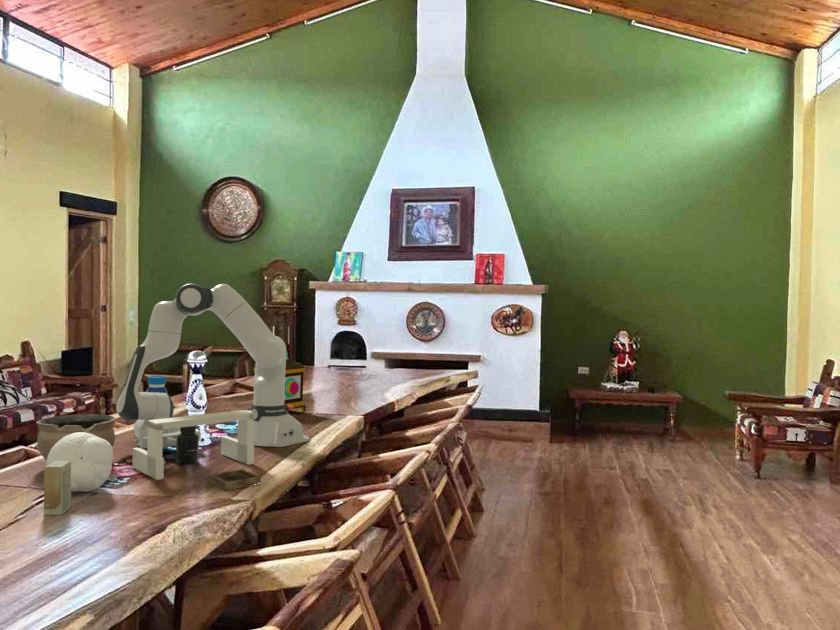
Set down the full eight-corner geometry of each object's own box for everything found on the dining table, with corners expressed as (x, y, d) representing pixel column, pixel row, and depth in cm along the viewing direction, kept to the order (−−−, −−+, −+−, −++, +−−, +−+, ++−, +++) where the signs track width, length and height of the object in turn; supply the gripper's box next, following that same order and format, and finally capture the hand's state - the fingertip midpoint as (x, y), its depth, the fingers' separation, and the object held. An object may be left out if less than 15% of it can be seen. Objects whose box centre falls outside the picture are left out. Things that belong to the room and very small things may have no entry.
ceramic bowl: (35, 478, 208) (35, 427, 207) (36, 461, 227) (36, 414, 227) (118, 471, 218) (118, 422, 218) (112, 455, 238) (112, 410, 237)
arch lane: (226, 453, 246) (227, 405, 245) (253, 463, 233) (254, 413, 232) (132, 467, 224) (133, 414, 223) (156, 479, 211) (157, 424, 210)
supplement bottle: (191, 465, 228) (192, 428, 227) (171, 464, 229) (172, 426, 229) (202, 460, 235) (202, 424, 234) (183, 459, 236) (183, 422, 235)
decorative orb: (70, 479, 209) (70, 424, 208) (130, 481, 208) (131, 427, 207) (30, 499, 189) (31, 439, 188) (97, 502, 188) (97, 442, 188)
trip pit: (241, 476, 217) (241, 469, 217) (260, 484, 209) (260, 476, 209) (208, 482, 210) (208, 474, 210) (226, 490, 202) (226, 483, 202)
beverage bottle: (171, 424, 291) (171, 375, 290) (161, 428, 282) (162, 378, 282) (151, 423, 292) (151, 374, 291) (140, 427, 283) (141, 377, 283)
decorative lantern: (310, 412, 328) (311, 346, 327) (279, 418, 311) (281, 349, 310) (277, 407, 339) (279, 343, 337) (246, 413, 322) (247, 346, 321)
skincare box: (53, 507, 183) (54, 459, 182) (71, 507, 183) (72, 460, 183) (42, 515, 177) (43, 466, 176) (61, 515, 177) (61, 466, 176)
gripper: (131, 429, 239) (148, 436, 229) (189, 422, 253) (208, 429, 243) (131, 448, 239) (148, 456, 229) (189, 440, 253) (208, 447, 243)
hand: (179, 442), depth 236 cm, fingers closed
